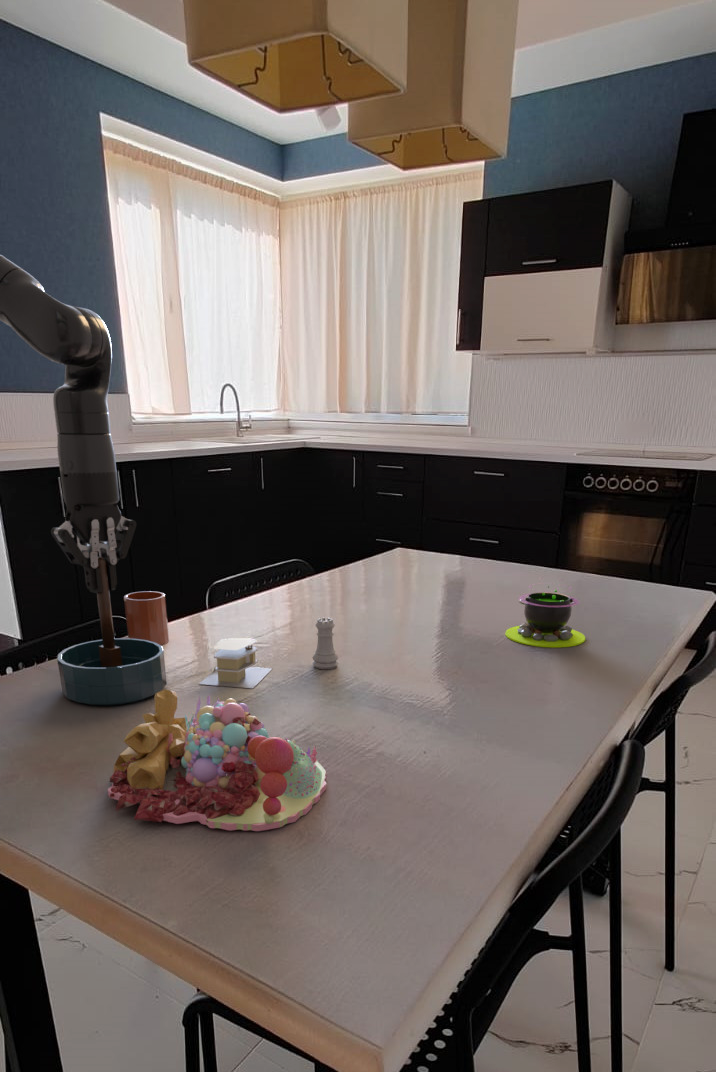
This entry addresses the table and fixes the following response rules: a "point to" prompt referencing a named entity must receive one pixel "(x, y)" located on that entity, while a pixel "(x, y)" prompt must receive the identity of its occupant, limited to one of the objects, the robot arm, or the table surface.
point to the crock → (147, 616)
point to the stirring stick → (107, 623)
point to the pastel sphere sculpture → (214, 769)
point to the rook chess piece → (325, 645)
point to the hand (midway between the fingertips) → (102, 590)
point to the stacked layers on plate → (236, 664)
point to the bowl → (112, 672)
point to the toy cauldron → (546, 621)
